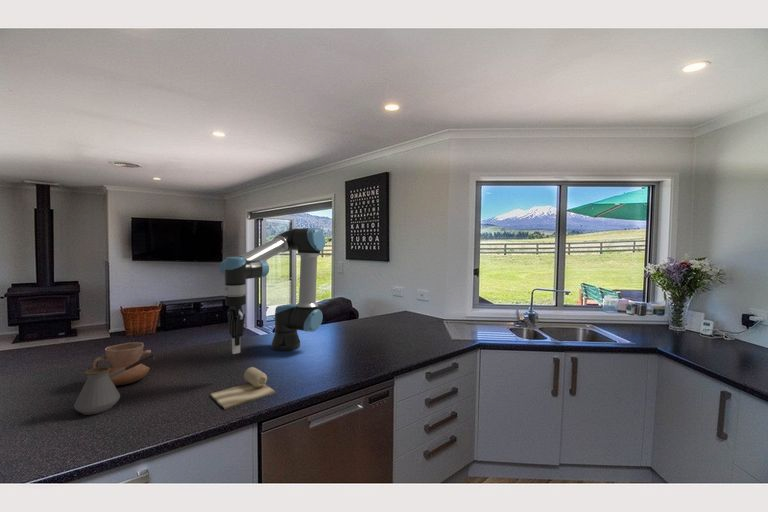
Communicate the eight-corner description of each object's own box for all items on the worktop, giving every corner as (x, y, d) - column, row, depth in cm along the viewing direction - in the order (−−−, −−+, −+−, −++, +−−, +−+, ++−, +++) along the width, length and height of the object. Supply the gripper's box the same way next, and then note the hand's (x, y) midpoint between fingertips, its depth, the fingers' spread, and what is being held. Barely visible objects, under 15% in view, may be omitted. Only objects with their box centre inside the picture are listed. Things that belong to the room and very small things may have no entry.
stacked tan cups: (152, 371, 140) (152, 338, 140) (150, 383, 128) (149, 347, 128) (97, 380, 130) (96, 345, 130) (89, 394, 118) (88, 355, 118)
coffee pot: (72, 421, 99) (72, 373, 99) (74, 407, 108) (74, 362, 108) (157, 401, 113) (157, 358, 113) (153, 390, 122) (153, 350, 122)
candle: (252, 364, 131) (264, 370, 124) (259, 373, 133) (271, 380, 126) (240, 374, 127) (252, 382, 120) (248, 384, 130) (259, 392, 123)
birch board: (210, 395, 118) (210, 393, 118) (259, 382, 131) (259, 380, 131) (224, 409, 108) (224, 407, 108) (275, 393, 121) (275, 391, 121)
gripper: (220, 294, 134) (220, 351, 135) (232, 298, 124) (232, 359, 125) (238, 292, 139) (239, 346, 140) (251, 296, 130) (252, 354, 131)
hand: (236, 352), depth 133 cm, fingers closed
